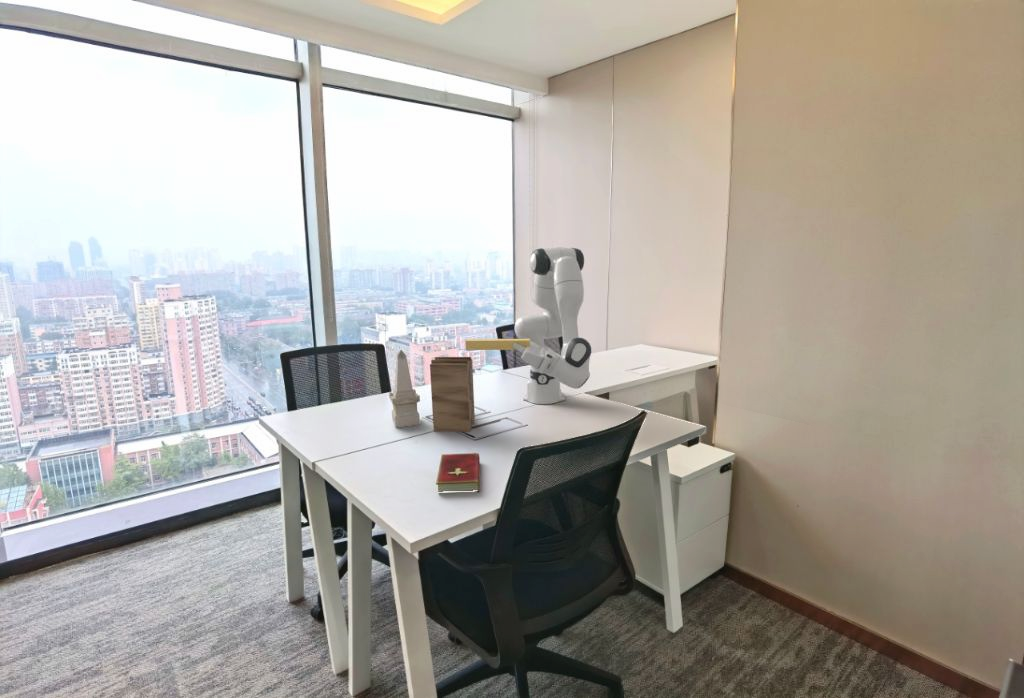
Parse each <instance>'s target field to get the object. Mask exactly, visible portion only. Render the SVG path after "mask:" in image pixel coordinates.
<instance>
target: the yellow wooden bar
mask: <svg viewBox="0 0 1024 698" xmlns="http://www.w3.org/2000/svg"><path fill="white" fill-rule="evenodd" d="M515 342H516V343H518V344H519V345H521V346H522V347H525V348H527V346H528V347H530V345H531V340H530V339H519V338H467V339H466V340H465V342H464V343H465V350H466V351H518V350H517V349H516V348H514V347H513V345H514V343H515Z"/></svg>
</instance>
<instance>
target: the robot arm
mask: <svg viewBox="0 0 1024 698" xmlns="http://www.w3.org/2000/svg"><path fill="white" fill-rule="evenodd" d="M529 263H530V264H529V265H530V266H529V267H530V269H531V271H532V272H533V273H534V274H535V275H534V283H533V293H532V300H533V303H534V304H535V306H537V307H538V308H541V309H542V311H543V312H542V313H540V314H528V315H527V314H526V315H524V316H521V317H518V318H517V319H516V321H515V323H514V333H515V335H516V337H517V339H530V340H531V345H530V347H528V346H527V348H525V347H522V346H521V345H519V344H518V343H516V342H515V343H514V345H513V347H514V348H516V349H517V350H516V351H517V352H520V353H521V354H522V355H521V357H520V359H521V361H523V362H524V363H526V364H527V365H529V366H530V369H529V370H530V371H529V376H530V377H529V378H530V379H528V381H527V382H526V394H525V395H524V396H523V398H522V400H523V401H526V402H529V403H532V404H536V405H550V404H557V403H558V402H563V401H565V400H566V398H565V396H564V395H563V392H562V389H561V384H562V385H565V386H566V387H569V388H572V389H574V390H577V389H580V388H582V386H584V385H585V383H587V381H588V379H589V378H590V376H591V373H590V359H591V354H592V346H591V343H589V341H588V340H587V339H586V338H583V337H579V330H578V329H579V327H578V317H579V313H580V310H581V307H582V304H583V302H584V296H585V295H584V294H585V293H584V292H585V291H584V290H585V288H584V282H583V275H582V272H581V271H582V270H583V268H584V266H585V257H584V253H583V251H582V250H581V249H579V248H575V247H571V248H570V247H563V246H561V247H560V246H559V247H558V246H557V247H549V248H542V247H541V248H537V249H534V250H533V251H532V253H530V258H529ZM557 338H562V345H561V349H560V352H559V353H557V352H556V351H555V350H554V349H553V348H552V347H549V346H546V344H545V340H547V339H557Z"/></svg>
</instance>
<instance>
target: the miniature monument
mask: <svg viewBox="0 0 1024 698" xmlns="http://www.w3.org/2000/svg"><path fill="white" fill-rule="evenodd" d="M395 362H396V363H395V364H396V365H395V378H394V388H393V390H392V392H391V391H389V392H388V396H389V400H390V402H391V404H392V410H391V417H392V418H391V419H392V420H393V421H392V422H394V423H393V425H394V427H399V428H403V427H402V426H407V427H413V426H412V425H414V426H420V425H421V421H420V420H421V418H420V413H419V411H418V403H420V402H421V399H420V397H421V396H420V395H419V394H418V393H417V391H416V389H415V388H413V384H412V379H411V373H410V368H409V363H408V358H407V355H406V353H405V352H404V351H403V350H402V349H400V350H399V352H397V353H396V361H395Z"/></svg>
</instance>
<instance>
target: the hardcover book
mask: <svg viewBox="0 0 1024 698" xmlns="http://www.w3.org/2000/svg"><path fill="white" fill-rule="evenodd" d="M480 458H481V457H480V453H479V452H470V453H468V452H467V453H446V454H445V453H444V454H441V456H440V460H439V462H440V463H439V466H438V467H439V468H438V472H437V477H436V483H435V484H436V486H437V493H438V492H443V491H473V490H478V491H479V492H480Z"/></svg>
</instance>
